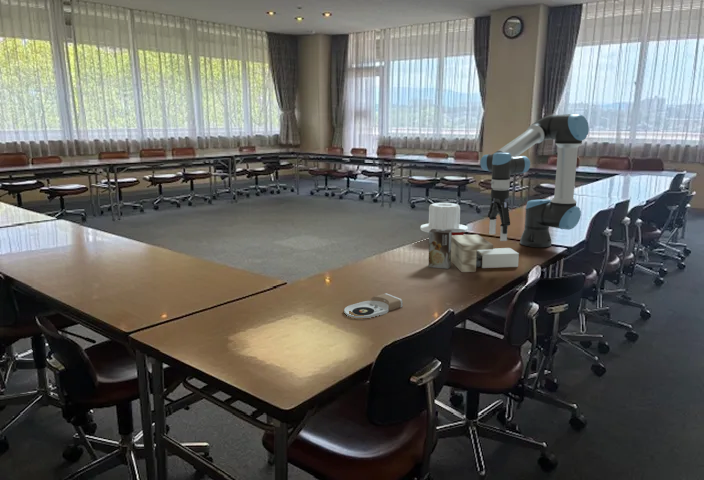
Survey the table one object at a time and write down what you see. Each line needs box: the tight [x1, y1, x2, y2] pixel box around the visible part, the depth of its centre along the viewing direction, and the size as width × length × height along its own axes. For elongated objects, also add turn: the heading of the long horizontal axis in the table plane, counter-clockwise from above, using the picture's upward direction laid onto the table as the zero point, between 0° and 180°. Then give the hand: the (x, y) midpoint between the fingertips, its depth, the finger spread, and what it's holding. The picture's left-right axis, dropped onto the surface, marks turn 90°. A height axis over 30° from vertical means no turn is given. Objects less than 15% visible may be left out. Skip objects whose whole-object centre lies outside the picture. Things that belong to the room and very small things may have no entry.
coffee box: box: [428, 229, 452, 270], centre depth 221 cm, size 9×6×16 cm
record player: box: [343, 292, 404, 319], centre depth 172 cm, size 12×3×20 cm
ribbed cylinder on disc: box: [419, 202, 469, 234], centre depth 271 cm, size 25×25×19 cm
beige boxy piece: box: [451, 234, 494, 273], centre depth 223 cm, size 13×20×12 cm, turn 5°
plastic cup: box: [443, 229, 466, 235], centre depth 243 cm, size 11×11×12 cm
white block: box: [476, 247, 520, 269], centre depth 224 cm, size 16×10×6 cm, turn 95°
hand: (497, 237), depth 222 cm, fingers open, 13 cm apart
